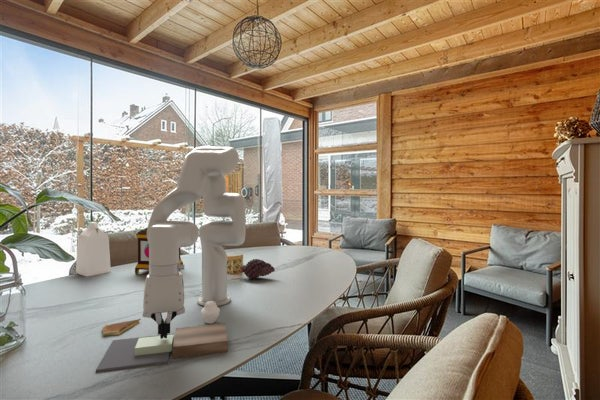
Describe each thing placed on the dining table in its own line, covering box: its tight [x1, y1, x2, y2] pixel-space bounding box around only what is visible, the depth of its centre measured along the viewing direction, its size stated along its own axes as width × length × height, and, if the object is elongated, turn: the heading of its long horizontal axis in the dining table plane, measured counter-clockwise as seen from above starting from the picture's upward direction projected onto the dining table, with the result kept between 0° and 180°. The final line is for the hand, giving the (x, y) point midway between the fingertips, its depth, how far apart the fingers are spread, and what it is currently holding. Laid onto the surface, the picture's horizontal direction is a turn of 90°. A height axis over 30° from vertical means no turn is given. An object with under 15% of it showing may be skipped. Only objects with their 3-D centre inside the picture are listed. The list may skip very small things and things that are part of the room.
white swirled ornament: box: [200, 301, 221, 325], centre depth 109 cm, size 6×6×7 cm
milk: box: [75, 221, 112, 277], centre depth 170 cm, size 12×12×26 cm
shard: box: [102, 318, 141, 337], centre depth 102 cm, size 11×8×2 cm
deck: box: [172, 323, 229, 359], centre depth 93 cm, size 12×14×3 cm
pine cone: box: [239, 258, 275, 280], centre depth 162 cm, size 18×10×10 cm, turn 88°
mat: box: [95, 333, 174, 373], centre depth 88 cm, size 16×16×1 cm
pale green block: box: [135, 333, 175, 356], centre depth 89 cm, size 9×6×2 cm, turn 107°
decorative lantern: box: [134, 219, 184, 275], centre depth 174 cm, size 20×20×30 cm
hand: (164, 336), depth 90 cm, fingers closed
